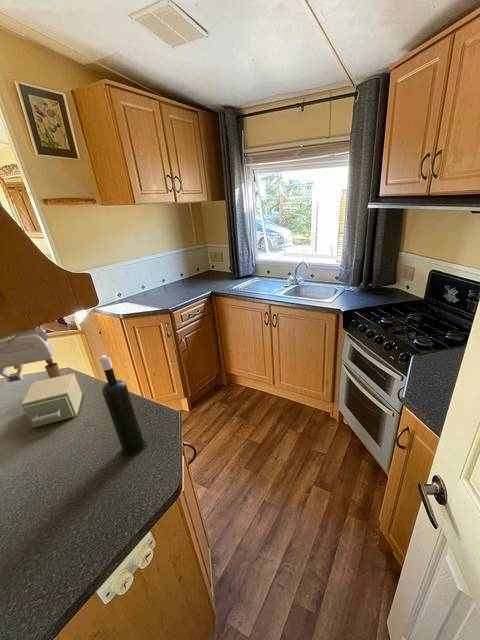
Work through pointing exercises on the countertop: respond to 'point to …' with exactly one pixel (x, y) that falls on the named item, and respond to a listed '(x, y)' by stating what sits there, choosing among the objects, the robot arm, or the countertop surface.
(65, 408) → the drawer
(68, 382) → the cabinet
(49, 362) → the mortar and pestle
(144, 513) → the countertop surface
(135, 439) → the wine bottle
